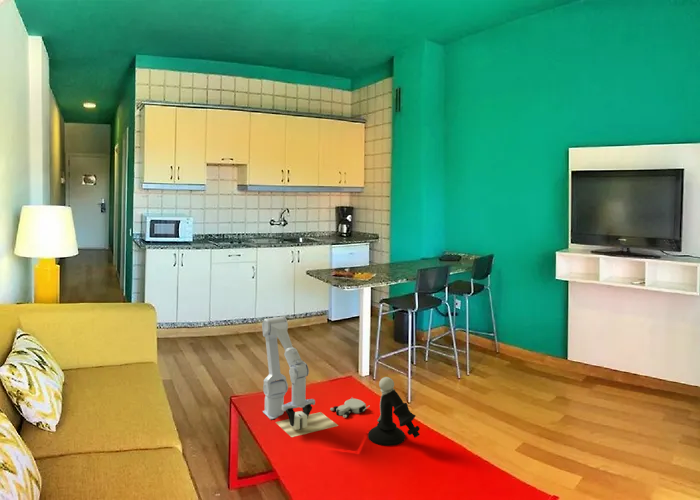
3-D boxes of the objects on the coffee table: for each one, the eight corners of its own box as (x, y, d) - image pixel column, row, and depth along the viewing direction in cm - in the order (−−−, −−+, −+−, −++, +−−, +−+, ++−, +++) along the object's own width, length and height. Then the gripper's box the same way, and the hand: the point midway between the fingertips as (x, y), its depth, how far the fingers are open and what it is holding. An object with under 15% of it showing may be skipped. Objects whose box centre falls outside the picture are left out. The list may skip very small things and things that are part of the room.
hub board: (275, 424, 224) (275, 414, 223) (320, 414, 235) (320, 404, 235) (291, 439, 210) (291, 428, 210) (338, 427, 222) (338, 417, 221)
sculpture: (384, 425, 225) (386, 369, 222) (429, 444, 209) (432, 383, 206) (360, 436, 214) (361, 377, 211) (406, 457, 198) (408, 393, 195)
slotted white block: (289, 424, 219) (289, 413, 219) (301, 422, 222) (301, 410, 221) (295, 429, 215) (295, 417, 214) (307, 427, 217) (307, 415, 217)
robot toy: (345, 424, 228) (371, 413, 237) (345, 414, 227) (370, 403, 237) (328, 414, 237) (353, 404, 247) (328, 405, 237) (353, 395, 246)
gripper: (286, 398, 210) (286, 431, 211) (318, 392, 217) (318, 423, 219) (279, 393, 216) (279, 424, 217) (310, 386, 223) (310, 417, 225)
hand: (298, 423), depth 218 cm, fingers closed on slotted white block, 5 cm apart
